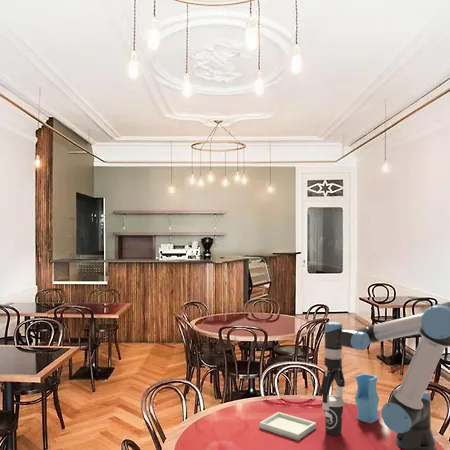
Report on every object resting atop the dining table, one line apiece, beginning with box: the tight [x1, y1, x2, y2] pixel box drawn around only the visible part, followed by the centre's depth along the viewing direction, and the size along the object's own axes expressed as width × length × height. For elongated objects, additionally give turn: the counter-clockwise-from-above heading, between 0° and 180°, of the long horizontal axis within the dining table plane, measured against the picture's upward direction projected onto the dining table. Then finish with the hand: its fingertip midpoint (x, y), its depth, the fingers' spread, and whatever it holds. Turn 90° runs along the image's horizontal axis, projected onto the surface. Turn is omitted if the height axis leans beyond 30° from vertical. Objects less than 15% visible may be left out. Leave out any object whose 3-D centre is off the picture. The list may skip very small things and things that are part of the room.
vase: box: [354, 373, 380, 424], centre depth 215 cm, size 8×8×20 cm
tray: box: [259, 411, 317, 441], centre depth 204 cm, size 20×16×2 cm
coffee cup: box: [322, 394, 345, 436], centre depth 200 cm, size 10×10×15 cm
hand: (332, 405), depth 200 cm, fingers open, 13 cm apart
